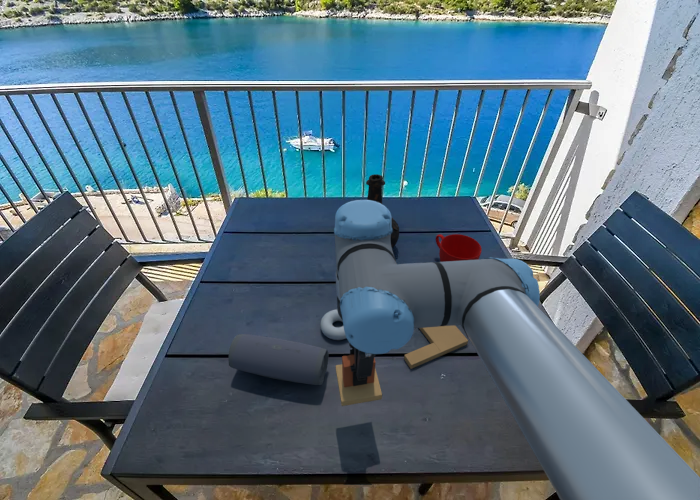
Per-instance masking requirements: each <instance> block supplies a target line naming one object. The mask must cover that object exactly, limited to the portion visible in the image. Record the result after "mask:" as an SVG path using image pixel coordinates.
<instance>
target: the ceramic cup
mask: <svg viewBox="0 0 700 500" xmlns="http://www.w3.org/2000/svg"><path fill="white" fill-rule="evenodd" d="M440 239H441V240H440ZM435 244H436V245H437V248H438V249H439V262H446V261H463V260H480V257H481V255H482V245H481V244H480V243H479V241H477V240H476V239H474V238H473V237H471V236H469V235H466V234H461V233H460V234H459V233H453V234H448V235H446V236H444V235H443V234H437V235H436V236H435Z"/></svg>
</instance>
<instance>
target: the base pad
mask: <svg viewBox="0 0 700 500" xmlns="http://www.w3.org/2000/svg"><path fill="white" fill-rule="evenodd" d="M418 329H419V330H420V332H421V333H422V334H423V335H424V337H425V338H426V340H428V342H429V344H426V345H425V346H422V347H420V348H417V349H415V350H412V351H410V352H408V353H405V354H404V356H403V360H404V361H405V363H406V365H408V367H409V369H410V370H412V369H414V368H417V367H419V366H421V365H424V364H425V363H428V362H430V361H433V360H434V359H437V358H440V357H442V356H444V355H446V354H449V353H451V352H453V351H456V350H459V349H461V348H463V347H465V346H467V345H468V343H469V339H467V338H468V337H467V336H465V335H464V334H463V333H462V331H461V330H460V329H459V328H458V327H457V325H453V326H439V327H425V328H418Z"/></svg>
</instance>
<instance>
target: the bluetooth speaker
mask: <svg viewBox="0 0 700 500" xmlns="http://www.w3.org/2000/svg"><path fill="white" fill-rule="evenodd" d="M329 355H330V354H329V350H328V349H326V348H323V347H320V346H316V345H312V344H308V343H303V342H299V341H294V340H288V339H283V338H279V337H272V336H265V335H258V334H257V335H256V334H251V333H250V334H248V333H239V334H237V335H235V337H233V339H232V341H231V342H230V346H229V349H228V359H227V361H228V367H230V368H232V369H234V370H238V371H241V372H244V373H245V372H246V373H249V374H252V375H257V376H260V377H261V376H262V377H265V378H268V379H272V380H279V381H286V382H292V383H298V384H299V383H300V384H306V385H314V386H322V385H323V384H324V379H325V375H326V373H327V369H328V364H329V358H330V357H329Z"/></svg>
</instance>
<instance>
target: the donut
mask: <svg viewBox="0 0 700 500" xmlns="http://www.w3.org/2000/svg"><path fill="white" fill-rule="evenodd" d="M335 322H341V323H343V320H342V319H341V318H340V316H339V314H338V311H337V308H336V309H332V310H329V311H327V312H326V313H325V314H323V316H322V318H321V319H320V329H321V332H322V333H323V335H324V336H325V337H326V338H329V339H330V340H333V341H342V340H345V339H347V338H346V335H345V331H344V326H343V325H342V326H339V327H336V326H334V325H333V324H334V323H335Z"/></svg>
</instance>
